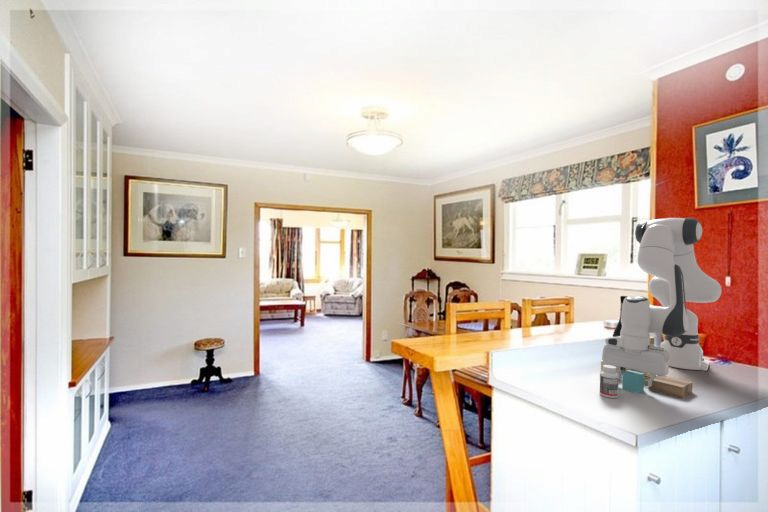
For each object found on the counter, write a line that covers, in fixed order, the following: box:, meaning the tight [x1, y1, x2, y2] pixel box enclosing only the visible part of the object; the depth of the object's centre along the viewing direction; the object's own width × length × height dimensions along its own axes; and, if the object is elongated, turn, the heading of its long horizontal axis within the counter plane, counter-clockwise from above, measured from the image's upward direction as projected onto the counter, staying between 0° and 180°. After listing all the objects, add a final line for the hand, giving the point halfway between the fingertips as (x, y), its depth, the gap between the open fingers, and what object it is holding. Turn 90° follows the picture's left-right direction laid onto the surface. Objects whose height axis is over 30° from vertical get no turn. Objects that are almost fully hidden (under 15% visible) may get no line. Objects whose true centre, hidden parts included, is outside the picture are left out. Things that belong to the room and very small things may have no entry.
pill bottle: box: [599, 365, 620, 399], centre depth 134 cm, size 5×5×10 cm
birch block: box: [600, 360, 621, 373], centre depth 154 cm, size 5×5×6 cm
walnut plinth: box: [647, 375, 693, 399], centre depth 140 cm, size 10×10×4 cm
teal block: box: [621, 370, 645, 394], centre depth 141 cm, size 5×5×6 cm
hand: (633, 382), depth 141 cm, fingers open, 8 cm apart
